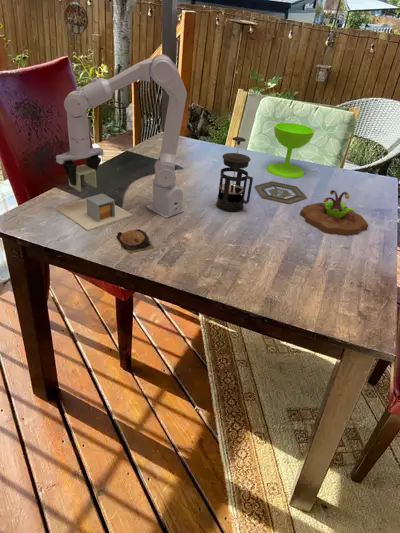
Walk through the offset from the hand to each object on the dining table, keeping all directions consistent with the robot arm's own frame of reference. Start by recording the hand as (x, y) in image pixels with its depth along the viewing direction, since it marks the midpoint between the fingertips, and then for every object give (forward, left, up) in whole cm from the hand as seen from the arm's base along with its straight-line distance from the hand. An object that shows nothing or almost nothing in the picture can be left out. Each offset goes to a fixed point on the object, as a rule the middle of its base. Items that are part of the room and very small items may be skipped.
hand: (82, 182), depth 121 cm
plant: (-56, -59, -9) cm, 82 cm away
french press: (-28, -39, -8) cm, 49 cm away
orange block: (-9, 0, -8) cm, 12 cm away
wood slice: (-27, +1, -9) cm, 28 cm away
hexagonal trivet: (-31, -64, -9) cm, 72 cm away
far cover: (0, 0, -1) cm, 1 cm away
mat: (-5, 0, -8) cm, 10 cm away
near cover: (-9, 0, -8) cm, 12 cm away
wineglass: (-19, -86, -8) cm, 88 cm away
